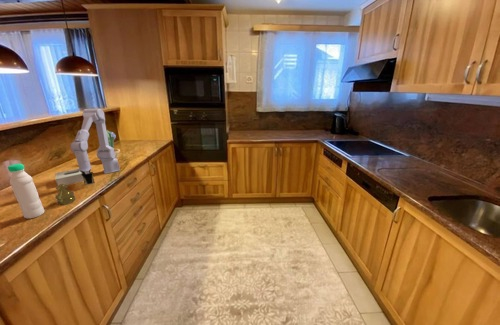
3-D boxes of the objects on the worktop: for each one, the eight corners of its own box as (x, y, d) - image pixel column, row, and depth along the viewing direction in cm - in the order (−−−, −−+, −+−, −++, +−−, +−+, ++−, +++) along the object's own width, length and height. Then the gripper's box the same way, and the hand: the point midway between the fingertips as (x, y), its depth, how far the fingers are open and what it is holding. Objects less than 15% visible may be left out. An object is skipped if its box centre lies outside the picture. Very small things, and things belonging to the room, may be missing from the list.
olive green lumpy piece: (64, 198, 116) (59, 181, 113) (79, 198, 116) (73, 181, 113) (53, 205, 109) (47, 187, 106) (69, 205, 109) (63, 187, 106)
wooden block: (94, 182, 137) (92, 174, 135) (94, 183, 135) (92, 175, 133) (84, 184, 134) (82, 176, 132) (85, 185, 132) (82, 178, 130)
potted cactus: (111, 164, 170) (103, 132, 162) (96, 162, 174) (87, 132, 165) (126, 158, 184) (120, 129, 176) (112, 157, 188) (105, 128, 180)
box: (87, 173, 150) (85, 167, 149) (90, 179, 140) (88, 172, 139) (57, 180, 140) (55, 173, 139) (58, 186, 131) (55, 179, 129)
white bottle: (47, 213, 102) (29, 163, 94) (27, 221, 96) (5, 168, 88) (41, 209, 105) (23, 161, 97) (22, 216, 100) (0, 166, 91)
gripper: (73, 159, 132) (80, 179, 136) (75, 165, 122) (82, 187, 126) (87, 157, 136) (93, 176, 141) (91, 162, 126) (96, 183, 130)
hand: (89, 181), depth 134 cm, fingers open, 7 cm apart
